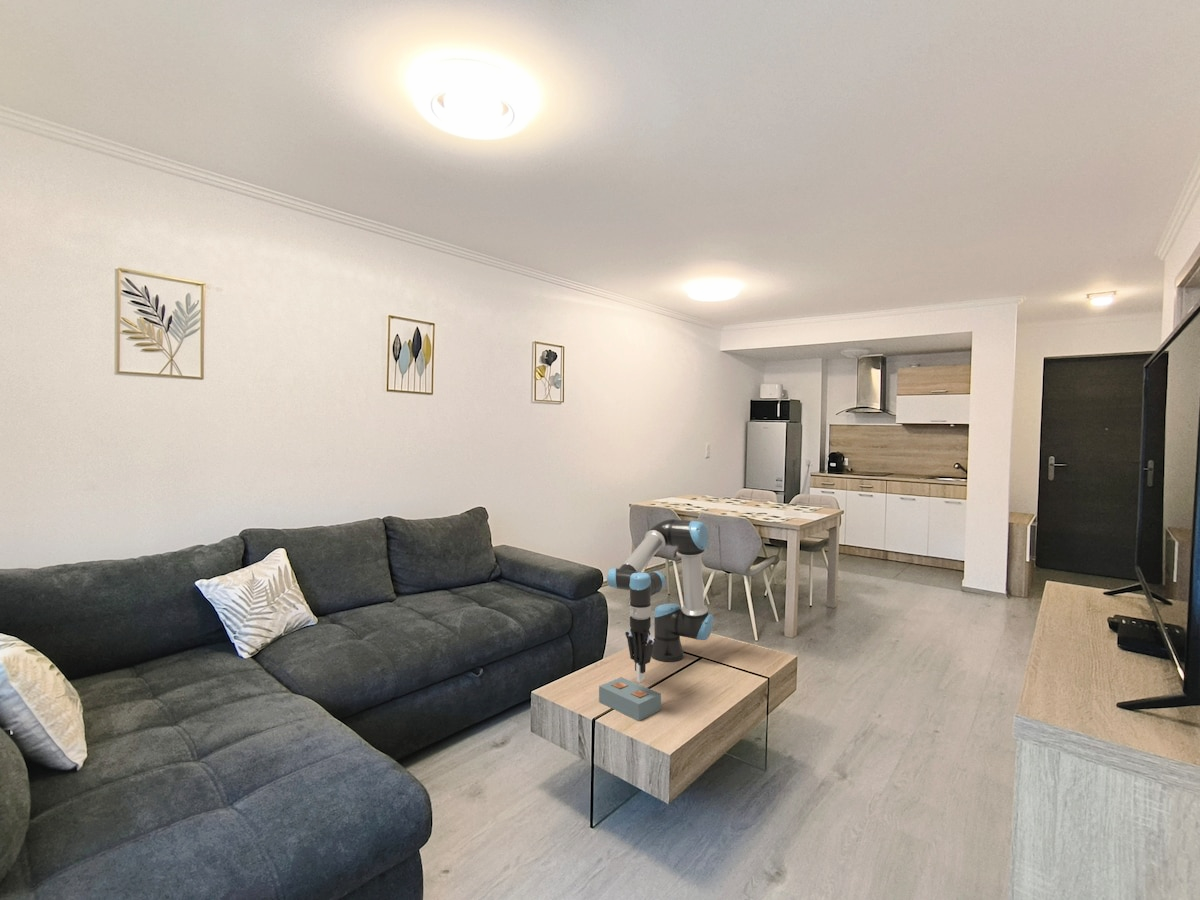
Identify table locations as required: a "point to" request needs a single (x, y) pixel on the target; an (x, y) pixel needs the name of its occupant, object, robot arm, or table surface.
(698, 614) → the robot arm
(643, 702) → the socket block
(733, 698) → the table surface
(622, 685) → the peg
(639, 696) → the peg
